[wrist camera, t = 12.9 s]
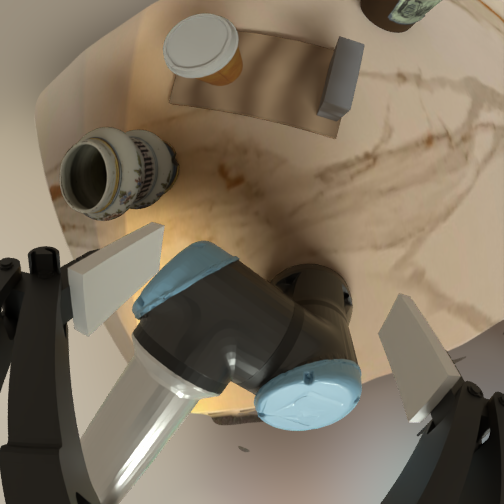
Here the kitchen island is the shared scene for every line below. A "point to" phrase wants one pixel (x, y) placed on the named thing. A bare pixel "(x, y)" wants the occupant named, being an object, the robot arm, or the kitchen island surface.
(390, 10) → the olive oil
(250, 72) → the walnut board
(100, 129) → the apothecary jar
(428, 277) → the kitchen island surface
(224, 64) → the disposable coffee cup
